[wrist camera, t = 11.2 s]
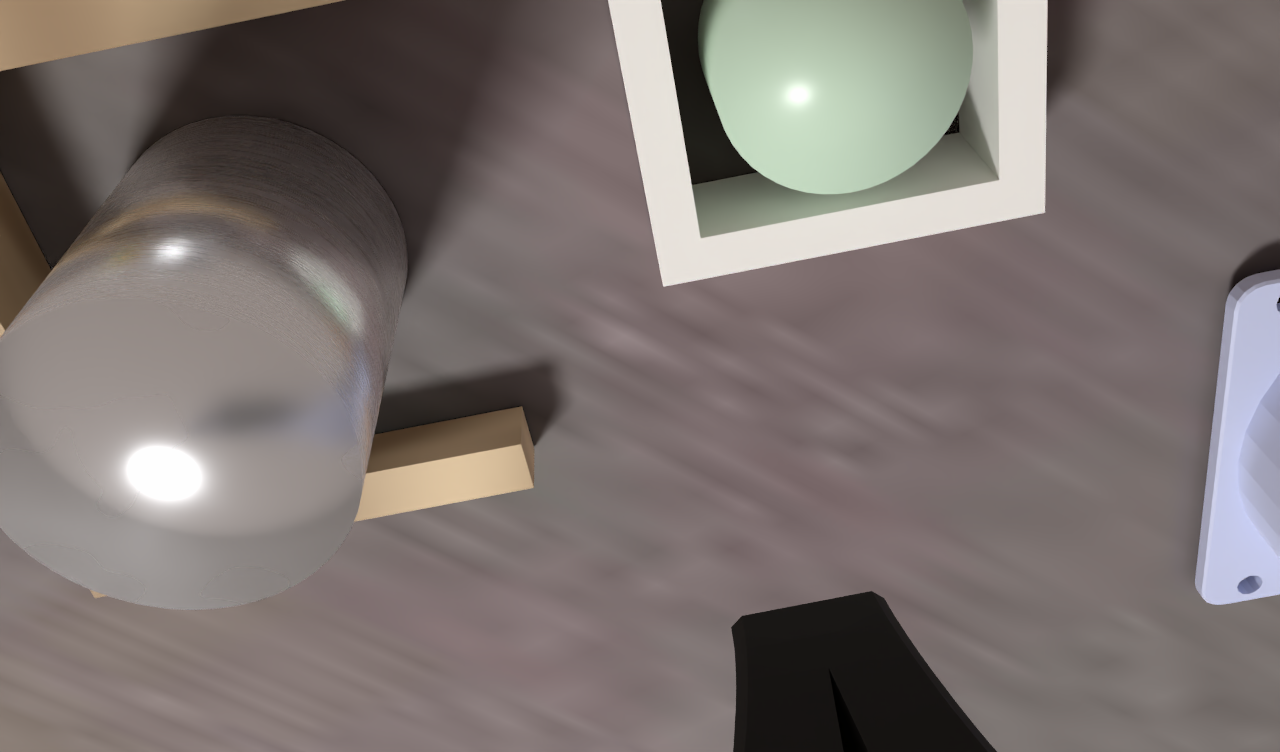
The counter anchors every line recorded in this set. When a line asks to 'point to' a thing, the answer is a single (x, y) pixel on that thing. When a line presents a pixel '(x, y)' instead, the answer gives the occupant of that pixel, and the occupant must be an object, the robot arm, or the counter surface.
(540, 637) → the counter surface
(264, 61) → the counter surface
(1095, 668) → the counter surface
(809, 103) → the button
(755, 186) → the button housing
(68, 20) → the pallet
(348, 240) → the cylinder
